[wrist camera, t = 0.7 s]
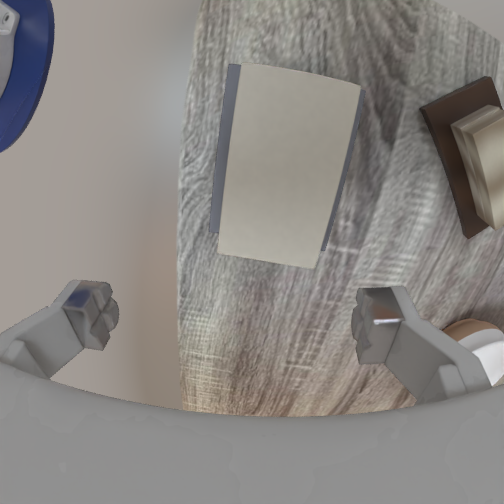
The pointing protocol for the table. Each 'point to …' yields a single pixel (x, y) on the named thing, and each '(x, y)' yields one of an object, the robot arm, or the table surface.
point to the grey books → (224, 150)
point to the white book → (284, 163)
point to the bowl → (481, 344)
